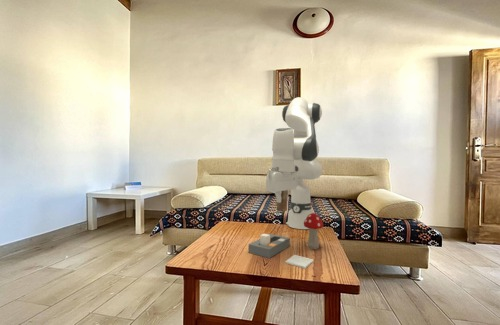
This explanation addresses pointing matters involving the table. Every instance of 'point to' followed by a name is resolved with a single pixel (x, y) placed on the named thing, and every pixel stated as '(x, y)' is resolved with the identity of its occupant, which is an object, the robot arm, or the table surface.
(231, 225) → the table surface
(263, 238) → the switch tab
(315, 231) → the decorative mushroom
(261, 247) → the switch panel
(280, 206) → the brown wooden beam
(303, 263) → the pad
